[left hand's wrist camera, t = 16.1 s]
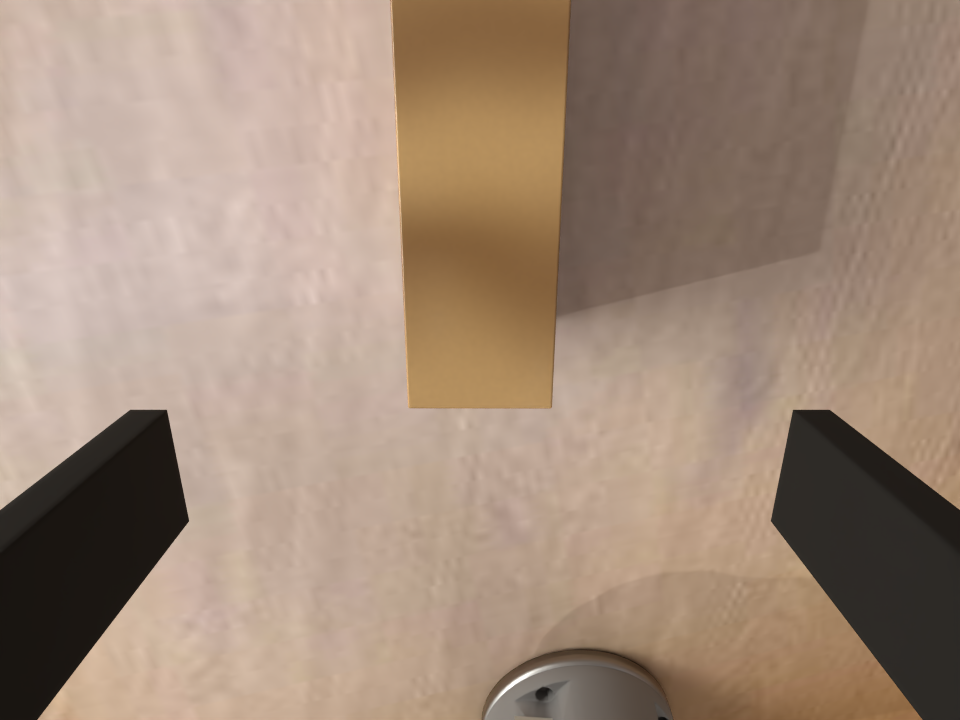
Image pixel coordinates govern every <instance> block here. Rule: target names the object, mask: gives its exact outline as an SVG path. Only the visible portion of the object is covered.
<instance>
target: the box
mask: <svg viewBox="0 0 960 720" xmlns="http://www.w3.org/2000/svg"><path fill="white" fill-rule="evenodd" d="M390 4H391V27H392V49H393V72H394V95H395V118H396V140H397V163H398V186H399V209H400V231H401V254H402V277H403V300H404V323H405V345H406V368H407V391H408V407H409V408H551V407H552V393H553V372H554V351H555V330H556V309H557V288H558V267H559V246H560V224H561V203H562V182H563V161H564V140H565V119H566V98H567V77H568V56H569V35H570V14H571V0H390Z"/></svg>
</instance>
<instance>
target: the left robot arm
mask: <svg viewBox="0 0 960 720" xmlns="http://www.w3.org/2000/svg"><path fill="white" fill-rule="evenodd" d="M188 522H189V518H188V513H187V508H186V503H185V498H184V493H183V488H182V483H181V478H180V473H179V468H178V463H177V458H176V453H175V448H174V443H173V438H172V433H171V428H170V423H169V418H168V413H167V410H130V411H128V412H127V413H126V414H124V415H123V416H122V417H120V418H119V419H118V420H117V421H115V422H114V423H113V424H111V425H110V426H109V427H107V428H106V429H105V430H104V431H102V432H101V433H100V434H98V435H97V436H96V437H95V438H93V439H92V440H91V441H89V442H88V443H87V444H85V445H84V446H83V447H82V448H80V449H79V450H78V451H76V452H75V453H74V454H72V455H71V456H70V457H69V458H67V459H66V460H65V461H63V462H62V463H61V464H59V465H58V466H57V467H56V468H54V469H53V470H52V471H50V472H49V473H48V474H47V475H45V476H44V477H43V478H41V479H40V480H39V481H37V482H36V483H35V484H34V485H32V486H31V487H30V488H28V489H27V490H26V491H24V492H23V493H22V494H21V495H19V496H18V497H17V498H15V499H14V500H13V501H11V502H10V503H9V504H8V505H6V506H5V507H4V508H2V509H1V510H0V720H37V719H38V718H39V717H40V715H41V714H42V713H43V712H44V710H45V709H46V708H47V706H48V705H49V704H50V702H51V701H52V700H53V698H54V697H55V696H56V695H57V693H58V692H59V691H60V689H61V688H62V687H63V685H64V684H65V683H66V681H67V680H68V679H69V678H70V676H71V675H72V674H73V672H74V671H75V670H76V668H77V667H78V666H79V664H80V663H81V662H82V660H83V659H84V658H85V657H86V655H87V654H88V653H89V651H90V650H91V649H92V647H93V646H94V645H95V643H96V642H97V641H98V640H99V638H100V637H101V636H102V634H103V633H104V632H105V630H106V629H107V628H108V626H109V625H110V624H111V623H112V621H113V620H114V619H115V617H116V616H117V615H118V613H119V612H120V611H121V609H122V608H123V607H124V606H125V604H126V603H127V602H128V600H129V599H130V598H131V596H132V595H133V594H134V592H135V591H136V590H137V589H138V587H139V586H140V585H141V583H142V582H143V581H144V579H145V578H146V577H147V575H148V574H149V573H150V572H151V570H152V569H153V568H154V566H155V565H156V564H157V562H158V561H159V560H160V558H161V557H162V556H163V555H164V553H165V552H166V551H167V549H168V548H169V547H170V545H171V544H172V543H173V541H174V540H175V539H176V537H177V536H178V535H179V534H180V532H181V531H182V530H183V528H184V527H185V526H186V524H187V523H188ZM771 522H772V523H773V524H774V526H775V527H776V528H777V530H778V531H779V532H780V534H781V535H782V536H783V537H784V539H785V540H786V541H787V543H788V544H789V545H790V547H791V548H792V549H793V551H794V552H795V553H796V555H797V556H798V557H799V558H800V560H801V561H802V562H803V564H804V565H805V566H806V568H807V569H808V570H809V572H810V573H811V574H812V575H813V577H814V578H815V579H816V581H817V582H818V583H819V585H820V586H821V587H822V589H823V590H824V591H825V592H826V594H827V595H828V596H829V598H830V599H831V600H832V602H833V603H834V604H835V606H836V607H837V608H838V609H839V611H840V612H841V613H842V615H843V616H844V617H845V619H846V620H847V621H848V623H849V624H850V625H851V626H852V628H853V629H854V630H855V632H856V633H857V634H858V636H859V637H860V638H861V640H862V641H863V642H864V643H865V645H866V646H867V647H868V649H869V650H870V651H871V653H872V654H873V655H874V657H875V658H876V659H877V660H878V662H879V663H880V664H881V666H882V667H883V668H884V670H885V671H886V672H887V674H888V675H889V676H890V678H891V679H892V680H893V681H894V683H895V684H896V685H897V687H898V688H899V689H900V691H901V692H902V693H903V695H904V696H905V697H906V698H907V700H908V701H909V702H910V704H911V705H912V706H913V708H914V709H915V710H916V712H917V713H918V714H919V715H920V717H921V718H922V719H923V720H960V510H959V509H958V508H956V507H955V506H954V505H952V504H951V503H950V502H949V501H947V500H946V499H945V498H943V497H942V496H941V495H939V494H938V493H937V492H936V491H934V490H933V489H932V488H930V487H929V486H928V485H926V484H925V483H924V482H923V481H921V480H920V479H919V478H917V477H916V476H915V475H913V474H912V473H911V472H910V471H908V470H907V469H906V468H904V467H903V466H902V465H901V464H899V463H898V462H897V461H895V460H894V459H893V458H891V457H890V456H889V455H888V454H886V453H885V452H884V451H882V450H881V449H880V448H878V447H877V446H876V445H875V444H873V443H872V442H871V441H869V440H868V439H867V438H865V437H864V436H863V435H862V434H860V433H859V432H858V431H856V430H855V429H854V428H853V427H851V426H850V425H849V424H847V423H846V422H845V421H843V420H842V419H841V418H840V417H838V416H837V415H836V414H834V413H833V412H832V411H830V410H793V413H792V418H791V423H790V428H789V433H788V438H787V443H786V448H785V453H784V458H783V463H782V468H781V473H780V478H779V483H778V488H777V493H776V498H775V503H774V508H773V513H772V518H771ZM482 720H673V717H672V713H671V710H670V707H669V704H668V701H667V698H666V696H665V693H664V691H663V689H662V688H661V686H660V685H659V683H658V682H657V681H656V679H655V678H654V677H653V676H652V675H651V674H650V673H649V672H647V671H646V670H645V669H644V668H642V667H641V666H639V665H637V664H636V663H634V662H632V661H630V660H628V659H625V658H623V657H621V656H617V655H614V654H611V653H606V652H601V651H594V650H567V651H560V652H554V653H550V654H546V655H543V656H540V657H537V658H534V659H532V660H529V661H527V662H525V663H523V664H521V665H519V666H518V667H516V668H515V669H513V670H512V671H510V672H509V673H508V674H507V675H505V676H504V677H503V678H502V679H501V680H500V681H499V682H498V683H497V684H496V686H495V687H494V688H493V689H492V691H491V692H490V694H489V696H488V698H487V700H486V702H485V705H484V708H483V712H482Z"/></svg>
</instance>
